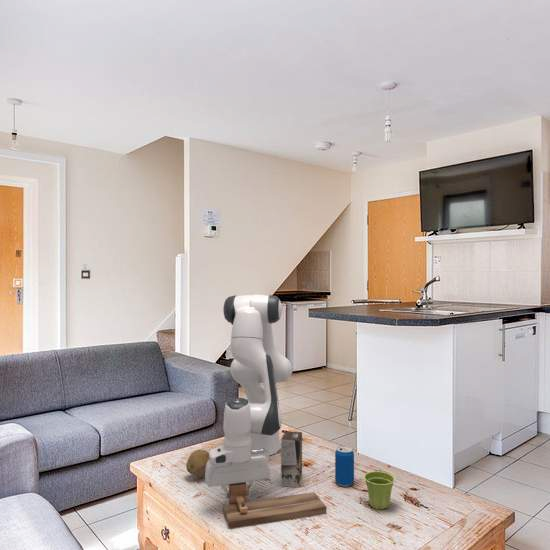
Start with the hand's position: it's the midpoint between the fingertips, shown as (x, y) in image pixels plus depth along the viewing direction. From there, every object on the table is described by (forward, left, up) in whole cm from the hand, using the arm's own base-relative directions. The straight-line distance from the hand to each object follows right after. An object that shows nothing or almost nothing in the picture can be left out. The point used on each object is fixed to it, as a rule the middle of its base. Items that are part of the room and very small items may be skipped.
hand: (237, 495), depth 145 cm
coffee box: (-12, +22, -4) cm, 25 cm away
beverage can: (-5, +39, -4) cm, 39 cm away
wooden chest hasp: (+4, 0, -3) cm, 5 cm away
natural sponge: (-24, -9, -4) cm, 26 cm away
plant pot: (+12, +43, -4) cm, 45 cm away
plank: (+7, +10, -3) cm, 13 cm away
